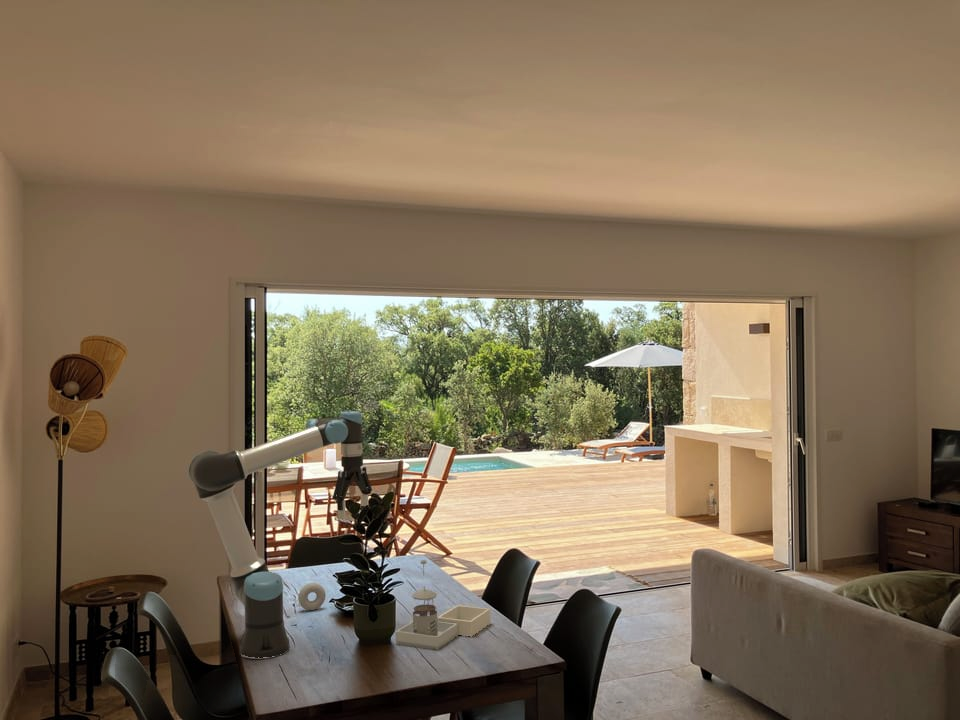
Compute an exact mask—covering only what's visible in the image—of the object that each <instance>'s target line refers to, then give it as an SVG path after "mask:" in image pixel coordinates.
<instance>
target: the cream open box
mask: <svg viewBox="0 0 960 720" xmlns="http://www.w3.org/2000/svg"><path fill="white" fill-rule="evenodd" d="M437 621H439V622H447V623H455V624H457V628H458V635H462V636H461V637H465V636H470V637H469V638H473V637H474V636H476V635H477V634H479V633H480V632H481V631H483V630H484V629H485V628H487V627H488V626H489V625H491V624H490V623H491V608H485V607H476V606H467V605H461V604H460V605H459V604H457V605H455V606H453V607H452V608H451V609H449V610H447V611H445V612H444V613H442V614H441V615H439V616H437ZM487 625H488V626H487ZM486 626H487V627H486ZM483 628H484V629H483ZM480 630H481V631H480ZM479 631H480V632H479ZM476 633H477V634H476ZM475 634H476V635H475ZM473 635H474V636H473ZM472 636H473V637H472Z"/></svg>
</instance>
